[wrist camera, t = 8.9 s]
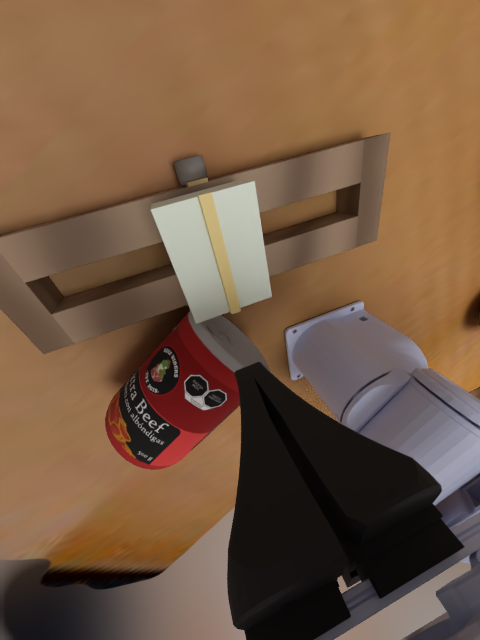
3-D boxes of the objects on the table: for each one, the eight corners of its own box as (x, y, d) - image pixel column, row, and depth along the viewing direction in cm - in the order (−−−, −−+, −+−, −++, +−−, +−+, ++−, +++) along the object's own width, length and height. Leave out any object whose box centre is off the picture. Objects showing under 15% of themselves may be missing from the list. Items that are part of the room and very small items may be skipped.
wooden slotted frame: (363, 115, 16) (393, 106, 14) (354, 248, 22) (374, 255, 20) (-43, 217, 13) (-80, 225, 11) (67, 346, 18) (56, 367, 16)
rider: (225, 179, 15) (256, 179, 11) (244, 270, 19) (274, 299, 14) (151, 199, 15) (150, 208, 10) (186, 289, 18) (196, 327, 14)
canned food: (92, 389, 19) (178, 290, 17) (168, 392, 25) (236, 320, 23) (113, 488, 14) (231, 371, 12) (197, 461, 21) (284, 381, 19)
